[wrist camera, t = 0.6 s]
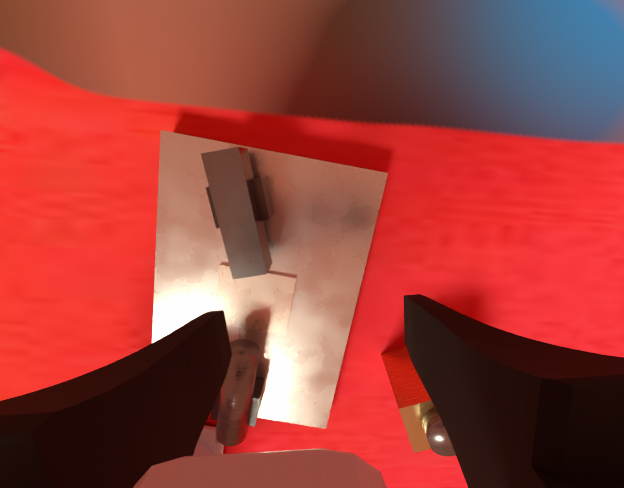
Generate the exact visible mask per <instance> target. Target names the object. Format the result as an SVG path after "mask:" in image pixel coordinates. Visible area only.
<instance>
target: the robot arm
mask: <svg viewBox="0 0 624 488" xmlns="http://www.w3.org/2000/svg"><path fill="white" fill-rule="evenodd" d="M404 327H405V344H406V347H407V350H408V353H409V355H410V358H411V361H412V363H413V366H414V368H415V370H416V372H417V374H418V376H419V377H420V379H421V381H422V383H423V385H424V387H425V389H426V391H427V393H428V395H429V397H430V399H431V401H432V403H433V404H434V406H435V408H436V410H437V412H438V414H439V416H440V418H441V420H442V422H443V425H444V427H445V429H446V431H447V434H448V436H449V439H450V441H451V444H452V446H453V449H454V451H455V454H456V456H457V459H458V461H459V464H460V467H461V469H462V472H463V474H464V477H465V480H466V482H467V485H468V488H624V358H622V357H615V356H608V355H601V354H596V353H590V352H585V351H580V350H574V349H570V348H565V347H560V346H556V345H552V344H548V343H544V342H540V341H536V340H532V339H528V338H525V337H522V336H518V335H515V334H512V333H509V332H506V331H503V330H500V329H497V328H494V327H492V326H489V325H486V324H484V323H482V322H479V321H477V320H474V319H472V318H470V317H467V316H465V315H463V314H461V313H459V312H456V311H454V310H452V309H450V308H448V307H446V306H444V305H442V304H440V303H438V302H436V301H434V300H432V299H430V298H428V297H426V296H423V295H420V294H418V295H405V296H404ZM231 357H232V351H231V346H230V341H229V335H228V330H227V325H226V320H225V315H224V310H220V311H209V312H206V313H204V314H202V315H200V316H198V317H196V318H195V319H193V320H191V321H190V322H188V323H186V324H185V325H183V326H181V327H180V328H178V329H176V330H175V331H173V332H171V333H170V334H168V335H166V336H164V337H162V338H161V339H159V340H157V341H155V342H154V343H152V344H150V345H148V346H146V347H145V348H143V349H141V350H139V351H137V352H135V353H133V354H131V355H129V356H127V357H125V358H122V359H120V360H118V361H116V362H114V363H112V364H109V365H107V366H104V367H102V368H99V369H97V370H94V371H92V372H89V373H87V374H84V375H82V376H79V377H77V378H74V379H71V380H68V381H65V382H63V383H60V384H57V385H54V386H51V387H48V388H44V389H41V390H38V391H35V392H32V393H28V394H25V395H22V396H18V397H14V398H11V399H7V400H3V401H0V488H387V487H386V485H385V482H384V480H383V477H382V475H381V472H380V471H378V470H377V469H376V468H374V467H373V466H371V465H370V464H368V463H367V462H365V461H364V460H362V459H361V458H359V457H358V456H356V455H355V454H353V453H349V452H342V451H335V450H329V449H304V450H287V451H269V452H252V453H234V454H223V451H224V445H223V444H221V443H220V442H219V441H218V440H217V438H216V427H212V426H206V425H205V423H206V421H207V419H208V416H209V414H210V412H211V410H212V408H213V405H214V403H215V401H216V399H217V396H218V394H219V392H220V390H221V387H222V385H223V383H224V380H225V378H226V375H227V371H228V368H229V365H230V361H231Z"/></svg>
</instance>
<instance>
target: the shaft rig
mask: <svg viewBox="0 0 624 488" xmlns="http://www.w3.org/2000/svg"><path fill="white" fill-rule="evenodd" d="M387 176H388V173H385V172H380V171H375V170H369V169H364V168H359V167H354V166H348V165H343V164H338V163H332V162H327V161H322V160H316V159H311V158H306V157H301V156H295V155H290V154H285V153H279V152H274V151H269V150H263V149H258V148H253V147H248V146H242V145H237V144H232V143H226V142H221V141H216V140H210V139H205V138H200V137H195V136H189V135H184V134H179V133H173V132H168V131H163V130H161V137H160V161H159V185H158V209H157V233H156V257H155V280H154V304H153V328H152V343H154V342H155V341H157V340H159V339H161V338H162V337H164V336H166V335H168V334H170V333H171V332H173V331H175V330H176V329H178V328H180V327H181V326H183V325H185V324H186V323H188V322H190V321H191V320H193V319H195V318H196V317H198V316H200V315H202V314H204V313H206V312H209V311H220V310H224V315H225V320H226V325H227V330H228V335H229V341H230V346H231V351H232V357H231V361H230V365H229V368H228V371H227V375H226V378H225V380H224V383H223V385H222V387H221V390H220V392H219V394H218V396H217V399H216V401H215V403H214V405H213V408H212V410H211V419H213V420H217V425H216V438H217V440H218V441H219V442H220V443H221V444H223V445H225V446H235V445H237V444H239V443H241V442H242V441H243V440H244V439H245V437H246V435H247V431H248V425H249V426H255V425H256V421H257V417H258V418H264V419H270V420H276V421H282V422H288V423H294V424H300V425H306V426H312V427H318V428H324V429H326V426H327V422H328V418H329V414H330V410H331V406H332V402H333V397H334V393H335V389H336V385H337V381H338V377H339V373H340V369H341V365H342V361H343V356H344V352H345V348H346V344H347V340H348V336H349V332H350V328H351V324H352V319H353V315H354V311H355V307H356V303H357V299H358V295H359V291H360V287H361V282H362V278H363V274H364V270H365V266H366V262H367V258H368V254H369V250H370V246H371V241H372V237H373V233H374V229H375V225H376V221H377V217H378V213H379V209H380V204H381V200H382V196H383V192H384V188H385V184H386V180H387Z"/></svg>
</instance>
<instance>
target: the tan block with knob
mask: <svg viewBox="0 0 624 488" xmlns="http://www.w3.org/2000/svg"><path fill="white" fill-rule="evenodd" d="M381 356H382V359H383V362H384V365H385V368H386V371H387V374H388V377H389V380H390V383H391V386H392V389H393V392H394V395H395V398H396V401H397V404H398V407H399V410H400V413H401V416H402V419H403V422H404V425H405V428H406V431H407V434H408V437H409V440H410V442H411V445H412V448H413V451H414V453H415V452H419V451H423V450H427V449H432V450H433V451H434V452H435V453H437V454H439V455H442V456H454V455H456V454H455V451H454V449H453V446H452V444H451V441H450V439H449V436H448V434H447V431H446V429H445V427H444V425H443V422H442V420H441V418H440V416H439V414H438V412H437V410H436V408H435V406H434V404H433V403H432V401H431V399H430V397H429V395H428V393H427V391H426V389H425V387H424V385H423V383H422V381H421V379H420V377H419V376H418V374H417V372H416V370H415V368H414V366H413V363H412V361H411V358H410V355H409V353H408V350H407V347H403V348H400V349H397V350H393V351H390V352H386V353H383V354H381Z"/></svg>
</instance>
